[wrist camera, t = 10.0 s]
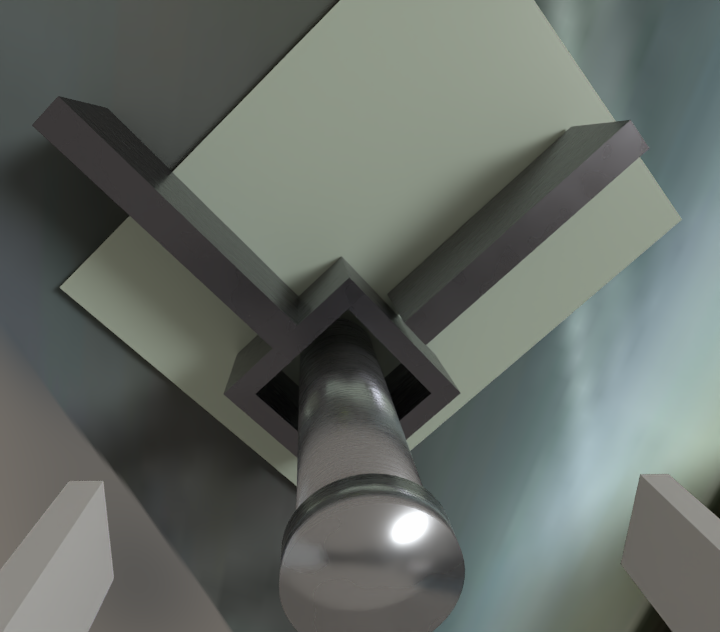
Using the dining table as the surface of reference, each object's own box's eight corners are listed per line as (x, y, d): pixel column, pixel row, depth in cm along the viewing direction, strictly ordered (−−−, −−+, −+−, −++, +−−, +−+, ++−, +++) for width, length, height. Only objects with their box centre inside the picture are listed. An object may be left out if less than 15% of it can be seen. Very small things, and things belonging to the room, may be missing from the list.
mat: (674, 218, 23) (681, 219, 23) (332, 509, 26) (333, 516, 25) (450, -110, 19) (454, -117, 18) (65, 284, 21) (59, 287, 21)
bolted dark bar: (590, 153, 21) (652, 153, 17) (408, 316, 23) (429, 349, 19) (571, 126, 21) (630, 119, 17) (386, 294, 22) (403, 322, 18)
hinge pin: (396, 352, 23) (501, 577, 11) (334, 407, 24) (366, 682, 11) (338, 293, 22) (381, 467, 10) (274, 352, 23) (239, 588, 10)
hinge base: (435, 354, 23) (460, 393, 20) (335, 442, 24) (341, 495, 20) (153, 58, 19) (115, 33, 15) (41, 178, 20) (-22, 183, 16)
